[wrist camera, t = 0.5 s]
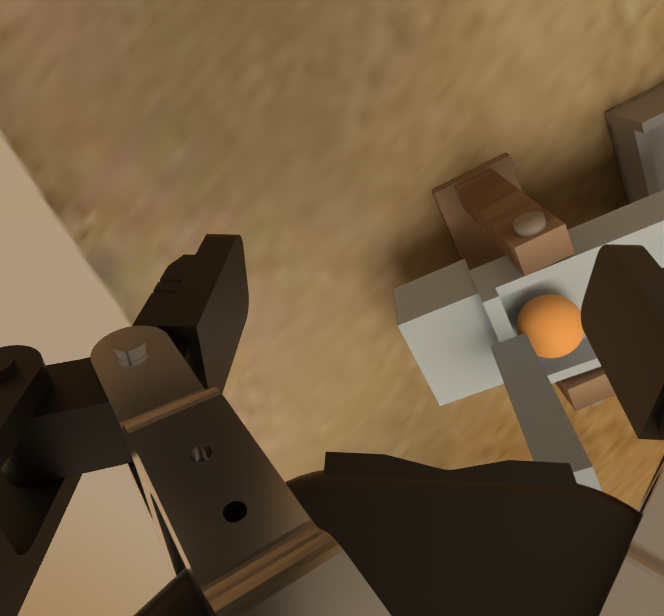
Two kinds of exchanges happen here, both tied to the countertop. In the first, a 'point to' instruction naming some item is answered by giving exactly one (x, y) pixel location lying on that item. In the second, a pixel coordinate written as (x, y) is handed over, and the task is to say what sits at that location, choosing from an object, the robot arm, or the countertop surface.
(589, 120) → the countertop surface
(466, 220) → the stand
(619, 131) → the shallow gray tray
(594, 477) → the chute
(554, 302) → the ball
